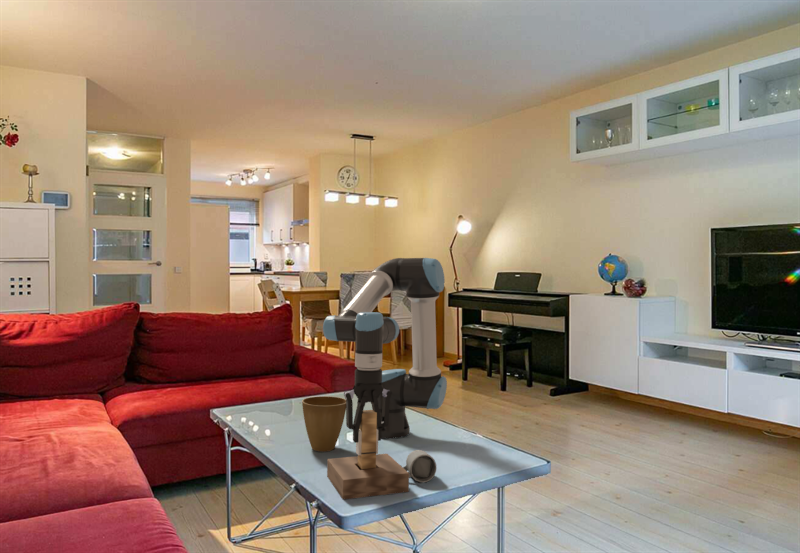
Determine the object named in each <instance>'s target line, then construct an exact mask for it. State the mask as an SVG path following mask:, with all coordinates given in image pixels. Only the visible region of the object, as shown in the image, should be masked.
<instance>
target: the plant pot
mask: <svg viewBox="0 0 800 553" xmlns="http://www.w3.org/2000/svg"><path fill="white" fill-rule="evenodd" d="M301 403H302V404H301V406H302V413H303V418H304V419H303V420H304V425H305V429H306V433H307V438H308V440H309V444H310V447H311V448H312V450H313V451H315V452H330V451H333V450H335V447H336V445H337V442H338V440H339V437H340V433H341V432H342V428H343V424H344V419H345V417H346V399H345V398H343V397H338V396H323V395H322V396H321V395H319V396H310V397H306V398H303V399H302V400H301Z"/></svg>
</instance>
